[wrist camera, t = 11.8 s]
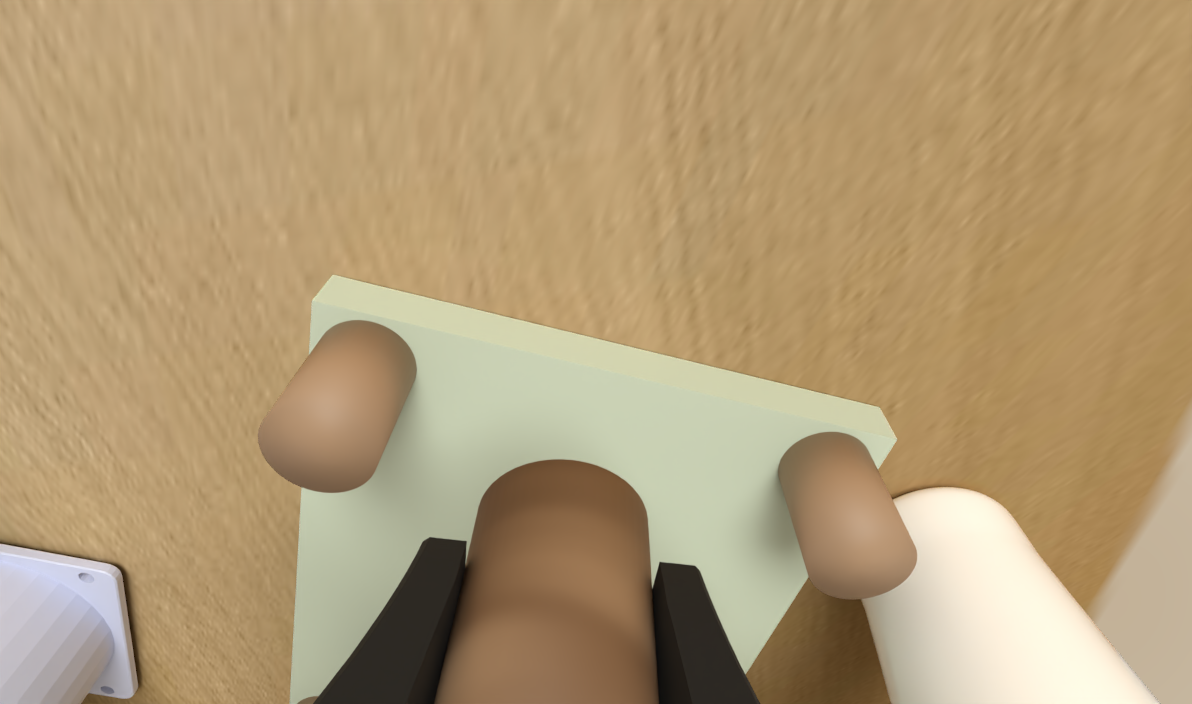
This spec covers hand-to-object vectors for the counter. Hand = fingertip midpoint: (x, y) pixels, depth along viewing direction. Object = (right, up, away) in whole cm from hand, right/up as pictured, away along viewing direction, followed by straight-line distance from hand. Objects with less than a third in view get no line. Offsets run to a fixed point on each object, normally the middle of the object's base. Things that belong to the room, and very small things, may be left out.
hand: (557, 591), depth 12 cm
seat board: (-1, -4, +13) cm, 13 cm away
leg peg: (0, +1, +1) cm, 2 cm away
